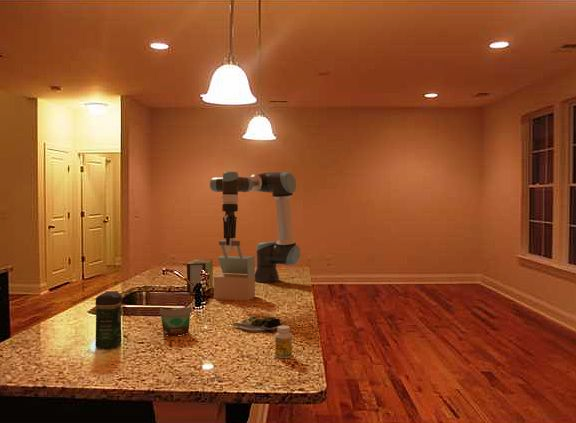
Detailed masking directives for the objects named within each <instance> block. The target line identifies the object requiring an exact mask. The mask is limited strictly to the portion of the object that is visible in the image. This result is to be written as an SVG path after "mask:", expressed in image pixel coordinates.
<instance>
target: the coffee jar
mask: <svg viewBox="0 0 576 423" xmlns="http://www.w3.org/2000/svg"><path fill="white" fill-rule="evenodd" d="M122 339H123V338H122V293H120V292H119V291H117V290H115V291H114V290H113V291H111V290H108V291H107V290H106V291H104V292H103V293H101V294H99V295H97V296H96V297H95V344H94V345H95V348H97V349H101V350H109V349H116V348H117V347H119V346H120V345H121V343H122V341H123V340H122Z"/></svg>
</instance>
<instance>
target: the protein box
mask: <svg viewBox="0 0 576 423" xmlns="http://www.w3.org/2000/svg"><path fill="white" fill-rule="evenodd" d="M213 267H214V260H213V259H193V260H191V261H189V262H187V263H186V280H187V279H188V280H189V281H190V282H191V283H192V284H196V283H198V282H201V277H200V270H204V271H207V272H209V275H210V287H211V289H212V288H214V269H213ZM192 284H189V283H188V282H187V281H186V292H187V293H194V292H193V285H192Z"/></svg>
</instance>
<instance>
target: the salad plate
mask: <svg viewBox="0 0 576 423" xmlns="http://www.w3.org/2000/svg"><path fill="white" fill-rule="evenodd" d="M232 326H236V327H238V328H239V329H241V330H244V331H246V332H250V331H251V332H252V333H258V332H259V333H272V332H273V333H274V332H278V331H277V327H278V326H283V320H281V319H280V318H278V317H277V318H275V317H272V316H267V317H266V316H264V317H262V318H259V317H257V316H249V317H248V318H244V319H243V320H241V322H240V323H239V322H233V323H232Z"/></svg>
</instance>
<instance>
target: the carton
mask: <svg viewBox="0 0 576 423" xmlns="http://www.w3.org/2000/svg"><path fill="white" fill-rule="evenodd" d="M247 257H248V258H247V274H232V273H223V272H222V273H220V274H217V275H215V276H214V275H213V299H214V298H215V300H231V301H248V302H249V301H250V300H251V299H253V298H254V297H256V281H255V272H256V256H255V254H254V255H251V256H247Z"/></svg>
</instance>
